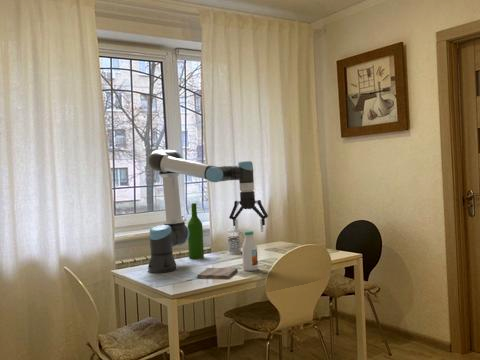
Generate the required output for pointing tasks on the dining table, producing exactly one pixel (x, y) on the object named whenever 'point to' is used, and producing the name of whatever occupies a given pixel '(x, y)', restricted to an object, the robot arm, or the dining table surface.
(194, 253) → the wine bottle
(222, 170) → the robot arm
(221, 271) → the walnut board
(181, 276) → the dining table surface
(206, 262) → the dining table surface
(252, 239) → the milk bottle
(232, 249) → the french press
